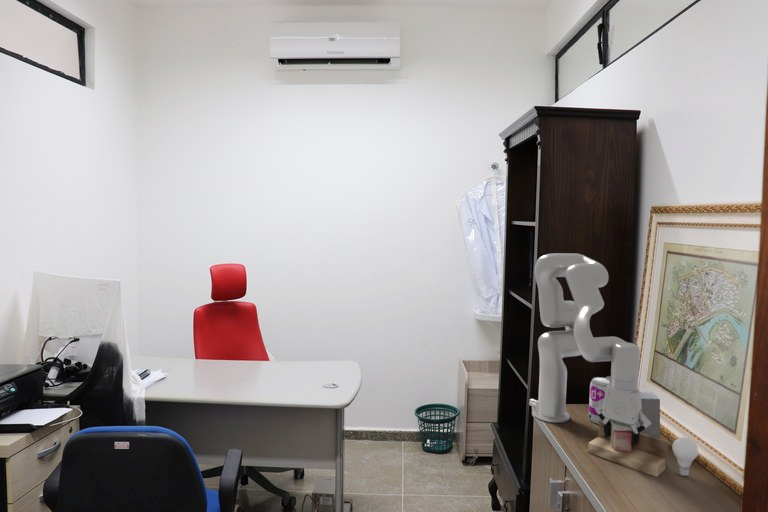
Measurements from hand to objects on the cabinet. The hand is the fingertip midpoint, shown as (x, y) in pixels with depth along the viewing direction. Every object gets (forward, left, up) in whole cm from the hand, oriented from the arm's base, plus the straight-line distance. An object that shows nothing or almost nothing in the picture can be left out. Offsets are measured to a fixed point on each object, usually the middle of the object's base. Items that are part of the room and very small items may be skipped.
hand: (620, 440), depth 155 cm
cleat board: (+2, 0, -6) cm, 6 cm away
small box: (0, 0, -3) cm, 3 cm away
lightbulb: (+17, +2, -6) cm, 18 cm away
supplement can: (-16, +24, -6) cm, 29 cm away
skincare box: (+1, +18, -6) cm, 19 cm away
